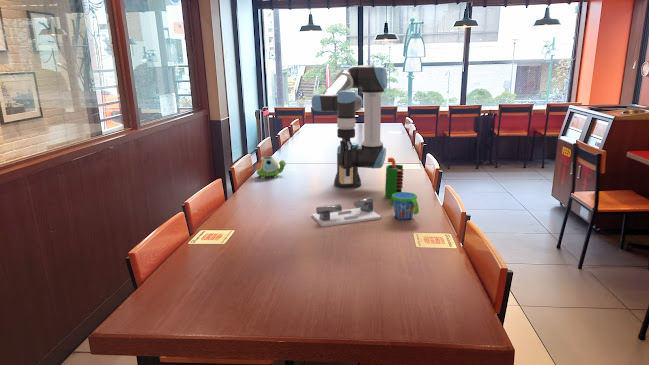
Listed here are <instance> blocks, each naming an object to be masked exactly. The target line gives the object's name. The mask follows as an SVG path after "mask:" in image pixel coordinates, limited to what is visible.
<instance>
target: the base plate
mask: <svg viewBox="0 0 649 365" xmlns="http://www.w3.org/2000/svg"><path fill="white" fill-rule="evenodd" d="M311 217H312V218H313V219H314V220H315V221H316V222H317V223H318V224H319V225H320V226H321V227H322V228H323V227H329V226H337V225H344V224H345V225H346V224H353V223H360V222H365V221H367V222H368V221H372V220H374V221H375V220H380V219H382V216H381V215H380V214H378V213H376V212H375V211H374V210H373V211H371V212H366V211H363V210H360V207H359V208H356V207H354V208H350V209H349V208H348V209H342V211H341V212H333V213H330V220H328V221H323V220H322V219H321V218H320V214H317V212H316V213H311Z"/></svg>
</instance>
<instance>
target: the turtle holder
mask: <svg viewBox="0 0 649 365" xmlns="http://www.w3.org/2000/svg"><path fill="white" fill-rule="evenodd" d="M285 166H286V161H285V159H283V160H280V161H279V162H277V161H276V160H275V159H274V157H273V156H263V157H261V158H260V160H259V161H258V163H257V165H256V174H257V176H259V177H260V180H265V179H266V177H272V178H273V179H277V178H278V175H279V174H281V173H283V171H284V169H285Z"/></svg>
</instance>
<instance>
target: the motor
mask: <svg viewBox="0 0 649 365" xmlns="http://www.w3.org/2000/svg"><path fill="white" fill-rule="evenodd" d="M387 163H391V164H388V165H386V167H385V169H386V170H385V185H384V186H385V187H384V188H385V190H384V197H385V199H388V200H391V197H392V194H394V193H397V192H403V191H402V190H403V184H404V183H403V181H404V176H403V175H404V165H403V164H397V163H396V160H395V158H394V157H388V158H387Z"/></svg>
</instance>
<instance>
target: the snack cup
mask: <svg viewBox="0 0 649 365" xmlns="http://www.w3.org/2000/svg"><path fill="white" fill-rule="evenodd" d="M417 199H418V195H417V194H416V193H413V192H410V191H409V192H408V191H401V192H397V193H394V194H392V197H391V199H390V202H389V203H390V206H391V207H393V210H394V216H395V218H397V219H399V220H410V219H412V218H413V215H417V214H419V205H418V200H417Z"/></svg>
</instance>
